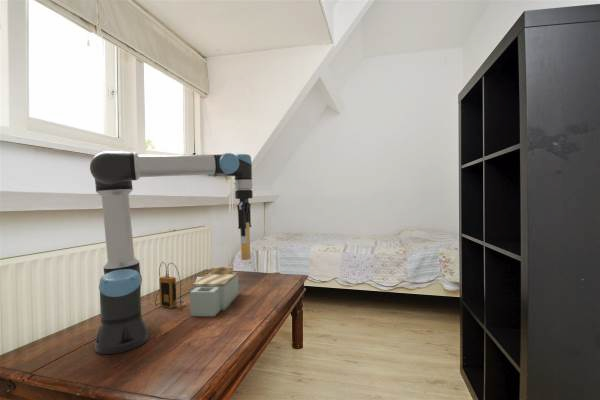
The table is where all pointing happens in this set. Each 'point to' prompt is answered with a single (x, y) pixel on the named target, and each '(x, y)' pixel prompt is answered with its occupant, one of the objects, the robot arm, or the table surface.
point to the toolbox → (212, 298)
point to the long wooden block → (246, 245)
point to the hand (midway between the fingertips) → (245, 242)
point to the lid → (217, 277)
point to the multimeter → (168, 290)
